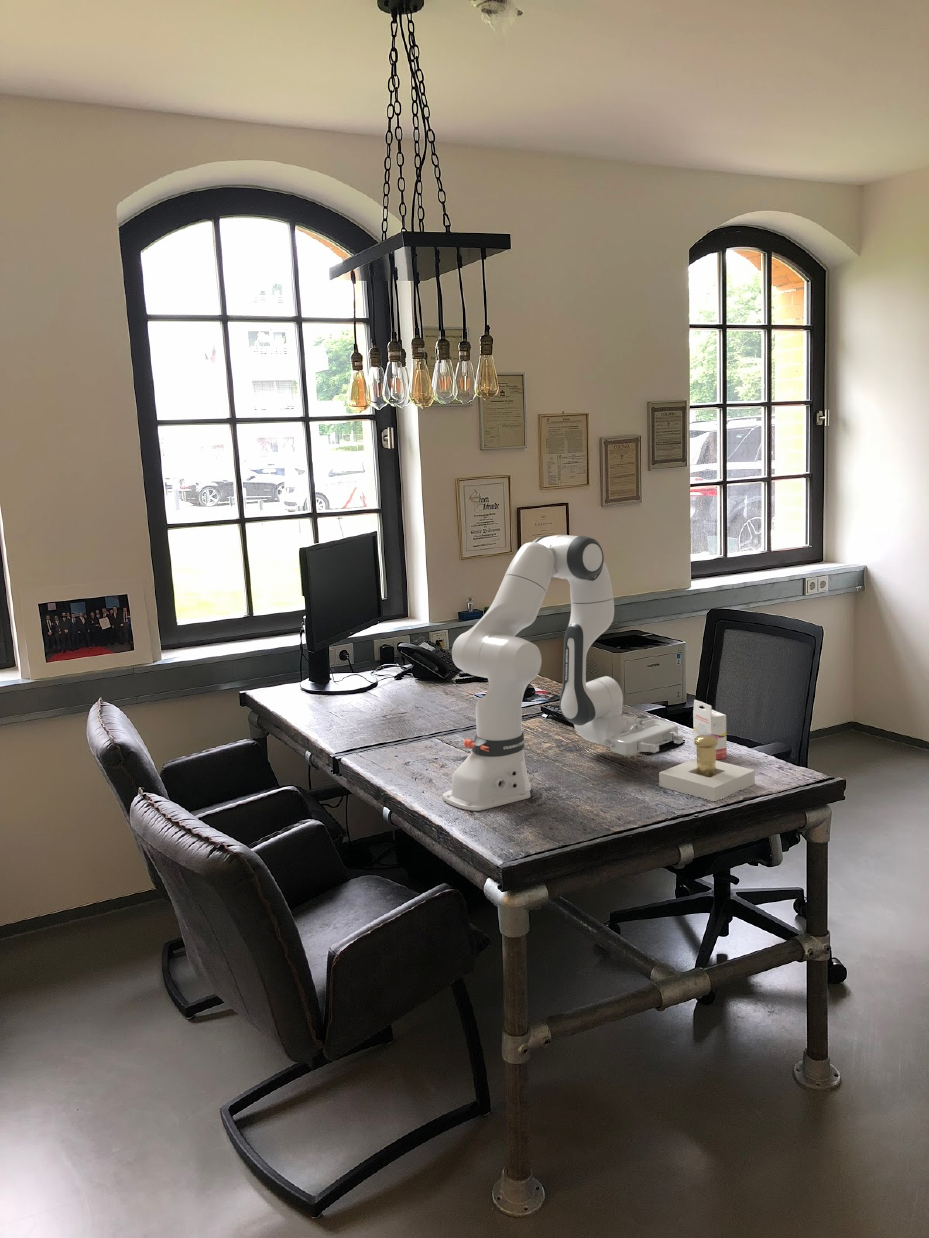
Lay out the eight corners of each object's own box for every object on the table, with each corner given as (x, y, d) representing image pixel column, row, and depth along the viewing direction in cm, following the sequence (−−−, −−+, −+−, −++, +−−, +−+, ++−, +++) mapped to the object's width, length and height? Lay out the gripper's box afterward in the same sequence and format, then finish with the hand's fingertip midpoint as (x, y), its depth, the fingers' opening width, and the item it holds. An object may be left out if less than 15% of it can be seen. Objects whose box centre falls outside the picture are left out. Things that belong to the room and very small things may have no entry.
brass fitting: (709, 790, 233) (708, 742, 231) (690, 785, 237) (689, 737, 235) (722, 784, 237) (722, 736, 235) (704, 779, 241) (703, 732, 239)
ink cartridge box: (727, 758, 256) (727, 703, 253) (711, 761, 254) (711, 706, 251) (708, 749, 264) (707, 696, 261) (692, 752, 262) (691, 699, 259)
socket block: (714, 802, 226) (714, 787, 225) (659, 786, 238) (659, 772, 237) (754, 784, 236) (754, 770, 235) (700, 769, 248) (699, 756, 247)
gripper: (599, 731, 248) (641, 741, 237) (651, 713, 260) (694, 723, 250) (599, 755, 249) (642, 766, 238) (652, 736, 261) (694, 747, 251)
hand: (669, 744), depth 244 cm, fingers open, 8 cm apart
